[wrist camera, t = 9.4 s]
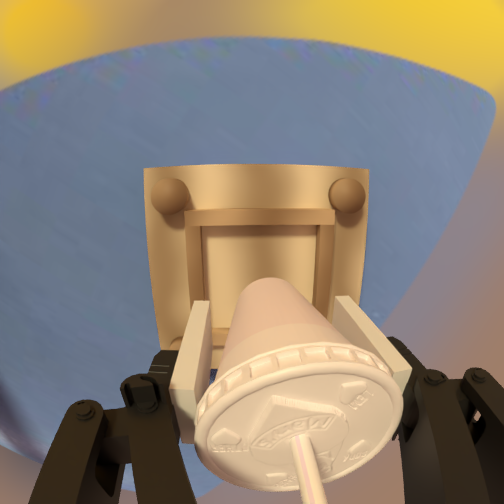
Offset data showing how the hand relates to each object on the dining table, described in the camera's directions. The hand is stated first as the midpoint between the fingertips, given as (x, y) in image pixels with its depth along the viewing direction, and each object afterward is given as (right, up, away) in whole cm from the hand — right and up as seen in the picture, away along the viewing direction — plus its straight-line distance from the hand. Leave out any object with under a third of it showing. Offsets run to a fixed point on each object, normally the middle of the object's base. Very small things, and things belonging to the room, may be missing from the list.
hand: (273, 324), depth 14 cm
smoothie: (0, 0, +2) cm, 2 cm away
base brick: (-1, +3, +12) cm, 12 cm away
